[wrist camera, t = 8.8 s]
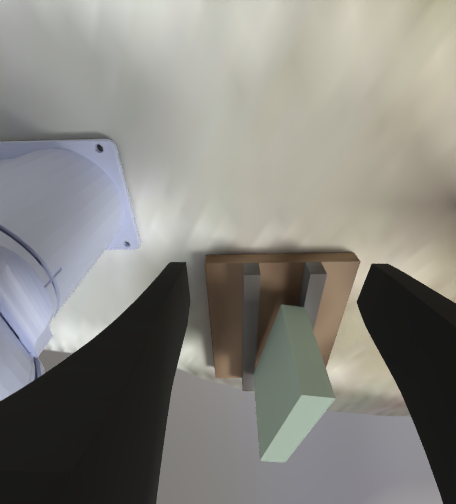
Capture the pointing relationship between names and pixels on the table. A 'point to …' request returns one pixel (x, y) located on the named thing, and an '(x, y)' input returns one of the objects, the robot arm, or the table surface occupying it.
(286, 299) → the track base
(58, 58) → the table surface
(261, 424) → the grey-green rectangular block
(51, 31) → the table surface
